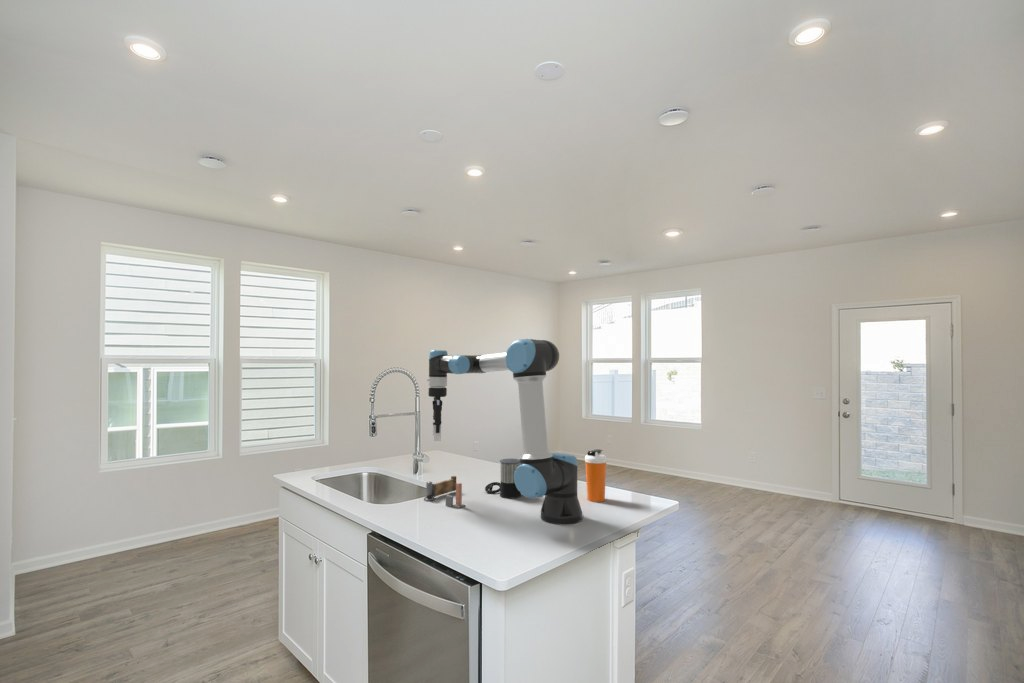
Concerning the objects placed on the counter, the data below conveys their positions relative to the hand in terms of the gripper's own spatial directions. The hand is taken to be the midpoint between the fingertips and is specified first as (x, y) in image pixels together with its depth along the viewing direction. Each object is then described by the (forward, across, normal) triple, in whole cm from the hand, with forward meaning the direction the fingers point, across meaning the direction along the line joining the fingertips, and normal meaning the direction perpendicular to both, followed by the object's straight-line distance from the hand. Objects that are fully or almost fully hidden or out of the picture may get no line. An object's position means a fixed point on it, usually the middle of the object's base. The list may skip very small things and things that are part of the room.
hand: (436, 438), depth 207 cm
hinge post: (+25, +2, -3) cm, 25 cm away
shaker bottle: (+24, +14, +65) cm, 70 cm away
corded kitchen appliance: (+25, -1, +29) cm, 38 cm away
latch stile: (+25, +13, +7) cm, 29 cm away
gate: (+24, -4, +4) cm, 25 cm away
